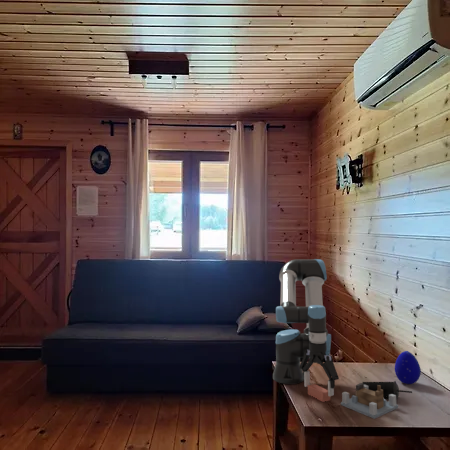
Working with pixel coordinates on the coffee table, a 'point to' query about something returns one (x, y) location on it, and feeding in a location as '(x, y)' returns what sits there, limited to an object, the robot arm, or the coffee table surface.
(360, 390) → the brown blocky piece
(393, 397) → the jig
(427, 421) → the coffee table surface
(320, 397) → the red rectangular block
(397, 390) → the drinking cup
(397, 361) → the ornament
